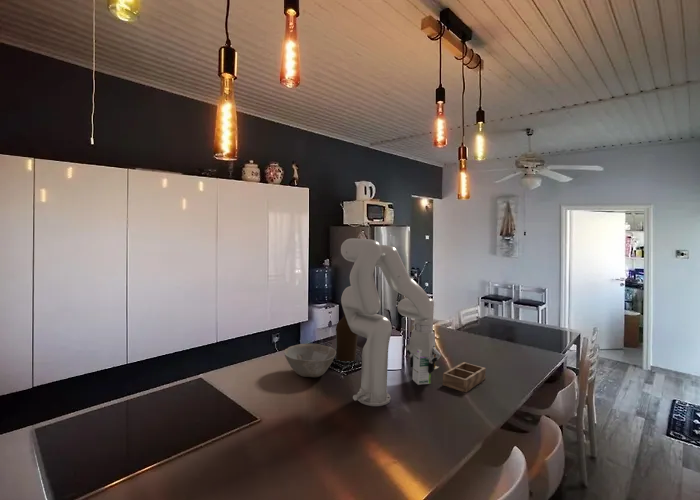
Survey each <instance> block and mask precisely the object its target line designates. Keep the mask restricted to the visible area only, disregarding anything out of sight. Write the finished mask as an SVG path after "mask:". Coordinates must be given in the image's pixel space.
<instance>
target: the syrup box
mask: <svg viewBox="0 0 700 500" xmlns="http://www.w3.org/2000/svg"><path fill="white" fill-rule="evenodd" d="M431 357H432V356H431ZM429 363H430V362H429V359H428V358H427V357H423V356H422V350H420V349H418V350H417V355H416V354H414V355H413V367H412V380H413V382H414V383H415V384H417V386H420V385H431V381H432V379H431V378H432V372H431V373H428V364H429Z"/></svg>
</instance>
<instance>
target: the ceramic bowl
mask: <svg viewBox="0 0 700 500" xmlns="http://www.w3.org/2000/svg"><path fill="white" fill-rule="evenodd" d="M283 354H284V357H285V359H286V361H287V362H288V364H289V365H290V367H291V369H292V370H293V371H294V372H295V373H296V374H297V375H298V376H301V377H303V378H320V377H322V376H323V375H324V374H325V373H326V372H327V371H328V369H329V368H330V366H331V364H333V361H334V359H335V358H336V348H333V347H330V346H328V345H324V344H319V343H299V344H295V345H291V346H288V347H287V348H285V349H284V350H283Z"/></svg>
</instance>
